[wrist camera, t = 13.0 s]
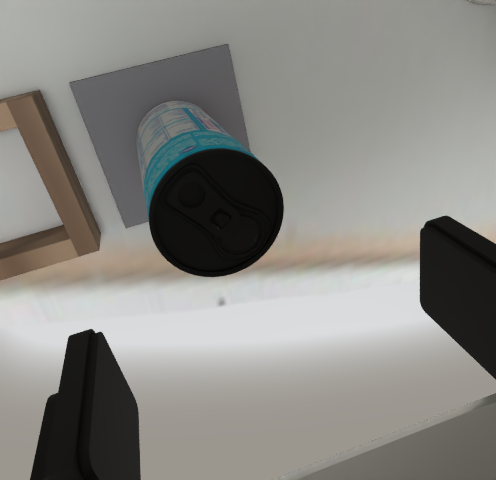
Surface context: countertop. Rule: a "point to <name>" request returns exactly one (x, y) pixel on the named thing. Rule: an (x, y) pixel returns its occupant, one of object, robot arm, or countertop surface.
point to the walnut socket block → (58, 186)
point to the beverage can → (205, 192)
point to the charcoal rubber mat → (145, 99)
